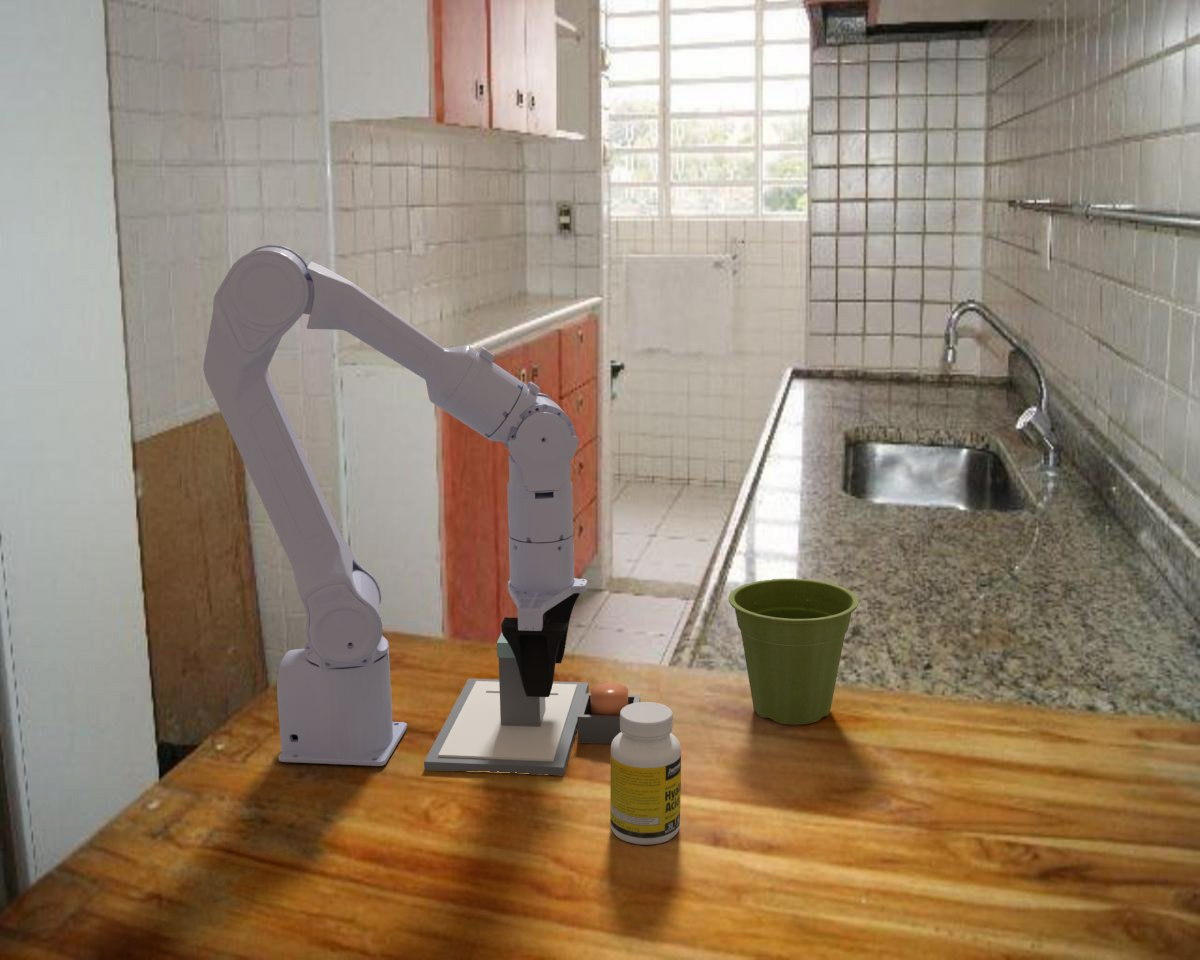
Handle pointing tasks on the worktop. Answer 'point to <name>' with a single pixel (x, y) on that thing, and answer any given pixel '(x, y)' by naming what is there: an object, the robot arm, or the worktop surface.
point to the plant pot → (792, 644)
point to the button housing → (598, 723)
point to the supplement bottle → (645, 775)
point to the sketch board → (506, 733)
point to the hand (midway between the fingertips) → (544, 678)
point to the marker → (515, 692)
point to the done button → (608, 699)
